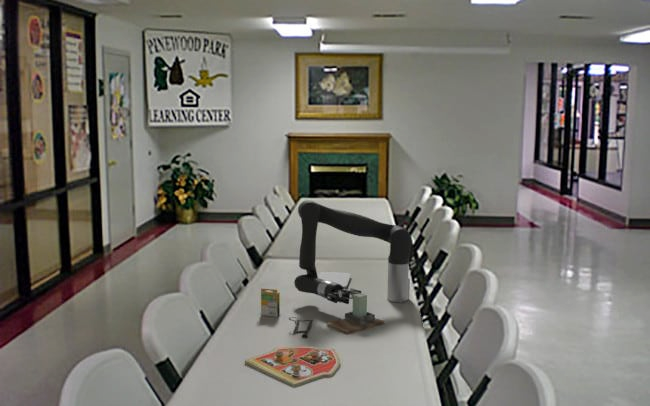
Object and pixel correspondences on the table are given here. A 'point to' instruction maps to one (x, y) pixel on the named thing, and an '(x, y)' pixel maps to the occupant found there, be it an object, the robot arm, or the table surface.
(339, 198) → the table surface
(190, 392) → the table surface
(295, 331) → the hacksaw
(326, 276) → the tablet
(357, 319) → the tool stand
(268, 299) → the crayon box
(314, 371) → the knob puzzle
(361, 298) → the peg block
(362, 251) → the table surface
